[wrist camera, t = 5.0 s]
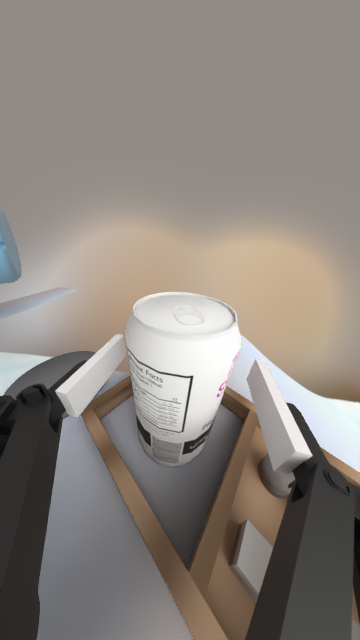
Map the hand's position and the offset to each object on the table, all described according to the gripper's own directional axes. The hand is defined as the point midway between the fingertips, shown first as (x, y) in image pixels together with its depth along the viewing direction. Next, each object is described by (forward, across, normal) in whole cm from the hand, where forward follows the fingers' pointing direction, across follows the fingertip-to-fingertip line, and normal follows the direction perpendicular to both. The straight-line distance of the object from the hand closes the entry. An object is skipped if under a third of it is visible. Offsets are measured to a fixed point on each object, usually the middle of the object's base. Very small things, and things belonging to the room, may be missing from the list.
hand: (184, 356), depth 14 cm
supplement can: (-2, 0, -9) cm, 9 cm away
